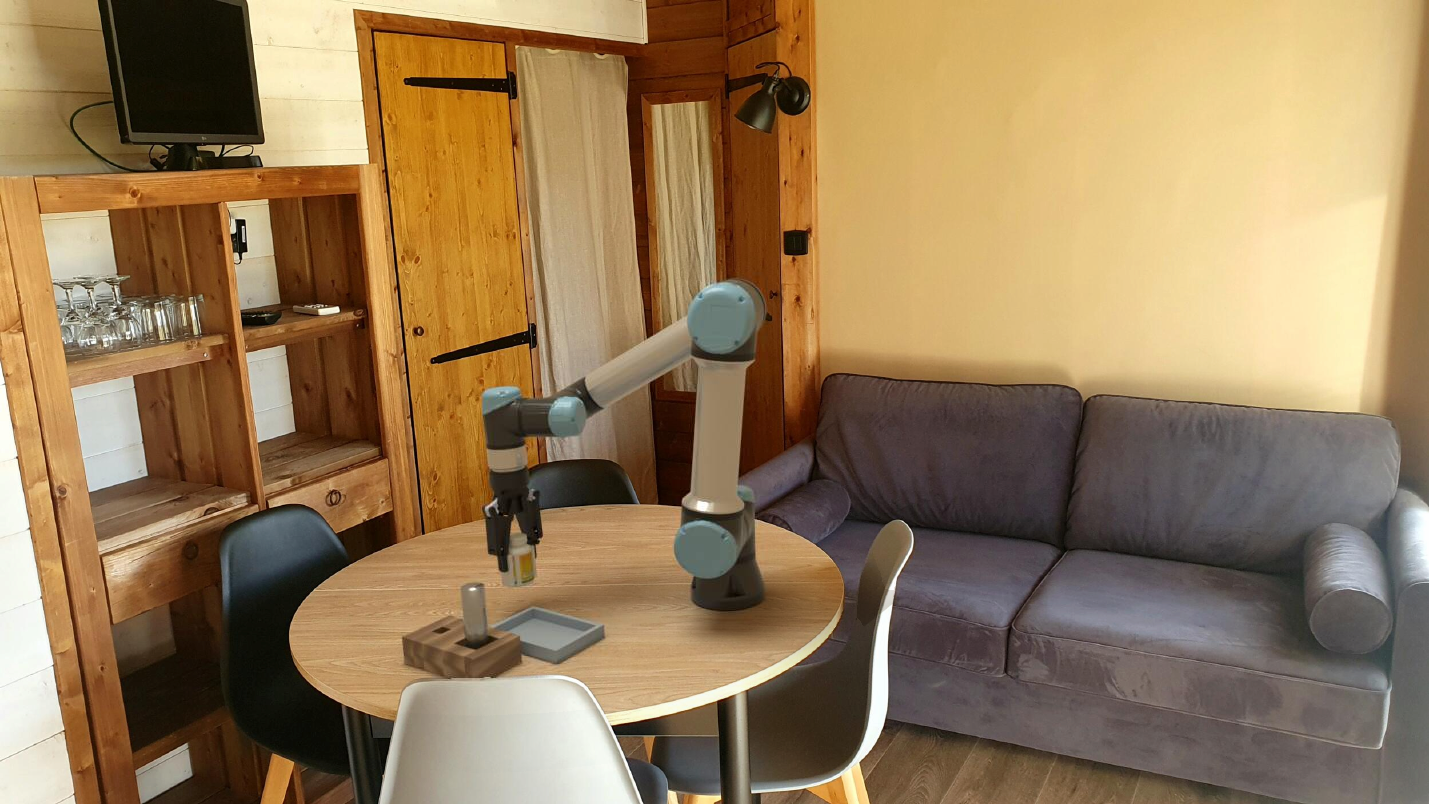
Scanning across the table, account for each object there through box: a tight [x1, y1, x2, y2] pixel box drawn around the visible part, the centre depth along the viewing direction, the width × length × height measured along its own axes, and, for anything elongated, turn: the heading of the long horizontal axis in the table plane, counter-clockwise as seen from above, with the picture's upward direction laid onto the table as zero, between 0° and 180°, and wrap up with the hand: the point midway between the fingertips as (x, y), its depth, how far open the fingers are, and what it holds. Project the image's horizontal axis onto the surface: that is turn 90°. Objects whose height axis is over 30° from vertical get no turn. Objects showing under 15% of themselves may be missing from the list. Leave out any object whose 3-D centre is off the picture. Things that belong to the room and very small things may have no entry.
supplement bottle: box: [508, 532, 535, 588], centre depth 203 cm, size 5×5×10 cm
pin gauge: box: [460, 581, 489, 650], centre depth 180 cm, size 4×4×15 cm
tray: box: [489, 605, 606, 665], centre depth 192 cm, size 18×13×2 cm
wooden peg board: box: [401, 614, 523, 679], centre depth 183 cm, size 18×11×5 cm, turn 56°
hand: (519, 580), depth 204 cm, fingers closed on supplement bottle, 5 cm apart
